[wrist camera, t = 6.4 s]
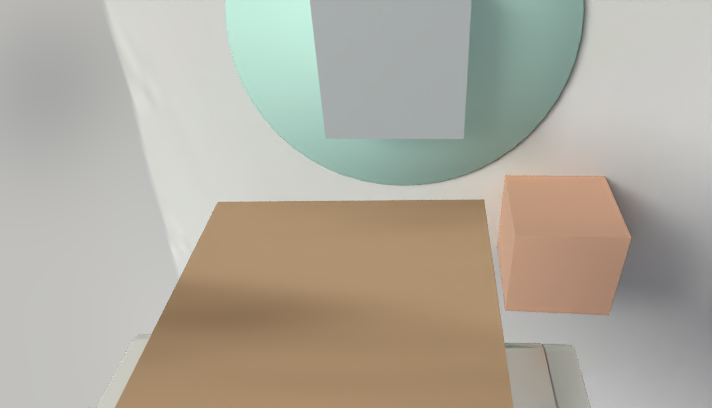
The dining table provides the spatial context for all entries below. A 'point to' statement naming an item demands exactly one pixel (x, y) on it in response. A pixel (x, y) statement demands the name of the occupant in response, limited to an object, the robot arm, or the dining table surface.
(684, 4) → the dining table surface
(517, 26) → the mint green round disc
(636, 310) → the dining table surface
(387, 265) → the walnut block
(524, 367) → the robot arm
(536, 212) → the terracotta block
